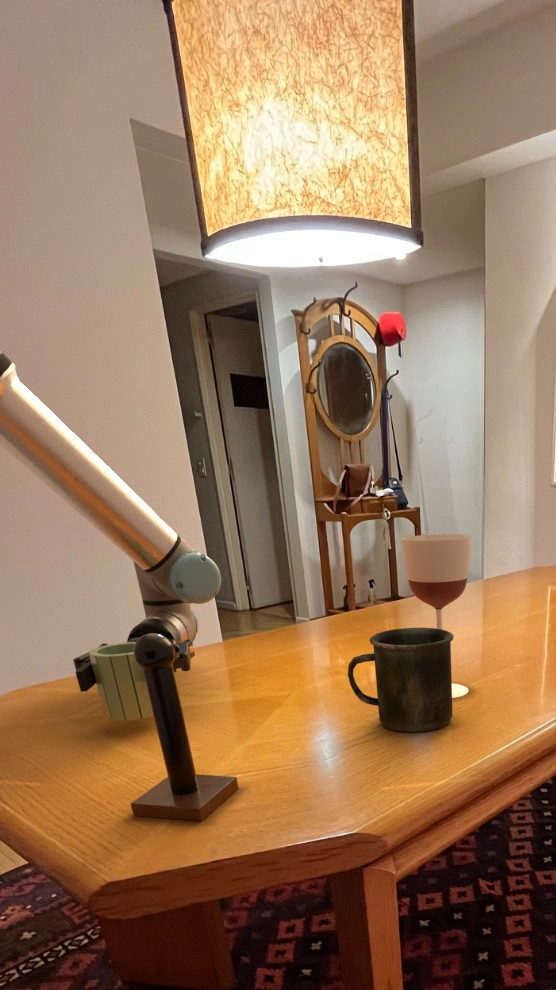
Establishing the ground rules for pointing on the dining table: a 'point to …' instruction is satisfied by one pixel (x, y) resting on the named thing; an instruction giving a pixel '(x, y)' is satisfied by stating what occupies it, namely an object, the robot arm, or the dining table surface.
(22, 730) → the dining table surface
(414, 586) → the wineglass
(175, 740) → the post stand
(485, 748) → the dining table surface
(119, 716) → the ribbed green pot
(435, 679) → the mug
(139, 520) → the robot arm
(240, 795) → the dining table surface
